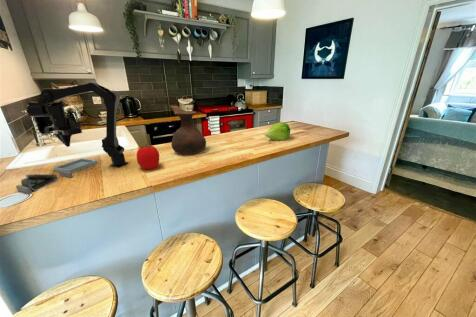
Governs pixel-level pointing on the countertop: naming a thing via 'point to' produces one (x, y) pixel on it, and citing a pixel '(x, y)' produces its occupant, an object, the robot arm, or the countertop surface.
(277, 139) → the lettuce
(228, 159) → the countertop surface
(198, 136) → the dark brown vase
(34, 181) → the dark piece
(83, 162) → the tray
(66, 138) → the robot arm
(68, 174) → the bay rails
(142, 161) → the red apple
